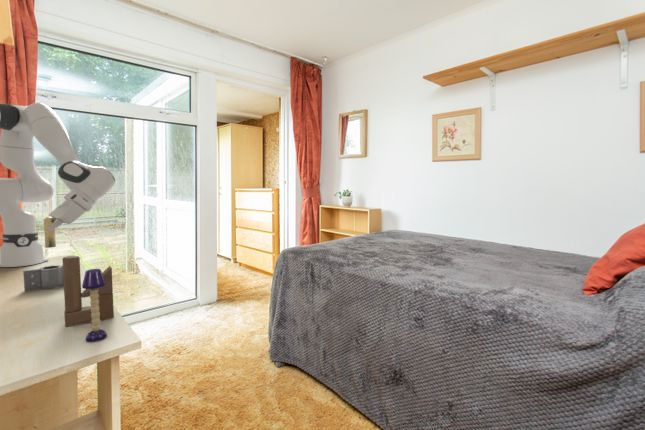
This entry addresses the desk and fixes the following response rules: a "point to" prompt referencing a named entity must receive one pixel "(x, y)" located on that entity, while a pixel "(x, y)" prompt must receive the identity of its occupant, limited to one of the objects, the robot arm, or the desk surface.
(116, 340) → the desk surface
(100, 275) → the toy lamp
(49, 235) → the brass pin
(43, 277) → the octagonal sleeve with tab
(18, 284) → the desk surface
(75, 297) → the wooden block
